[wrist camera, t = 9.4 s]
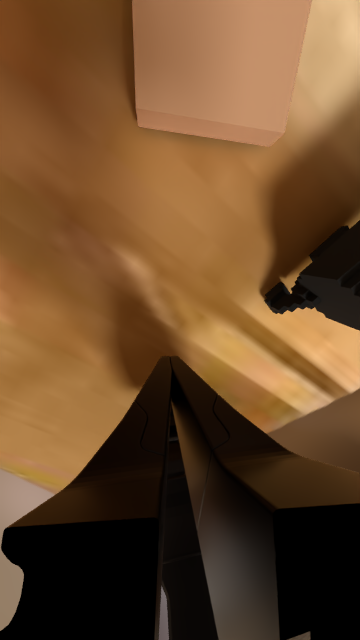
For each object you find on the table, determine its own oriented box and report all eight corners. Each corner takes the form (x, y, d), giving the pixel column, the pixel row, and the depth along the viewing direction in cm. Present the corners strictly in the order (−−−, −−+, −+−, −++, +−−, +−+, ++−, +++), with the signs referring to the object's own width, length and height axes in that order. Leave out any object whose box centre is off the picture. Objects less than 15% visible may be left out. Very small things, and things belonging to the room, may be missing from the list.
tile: (284, 133, 14) (335, -117, 10) (135, 108, 12) (124, -207, 8) (268, 148, 16) (305, -55, 12) (138, 128, 14) (130, -117, 10)
